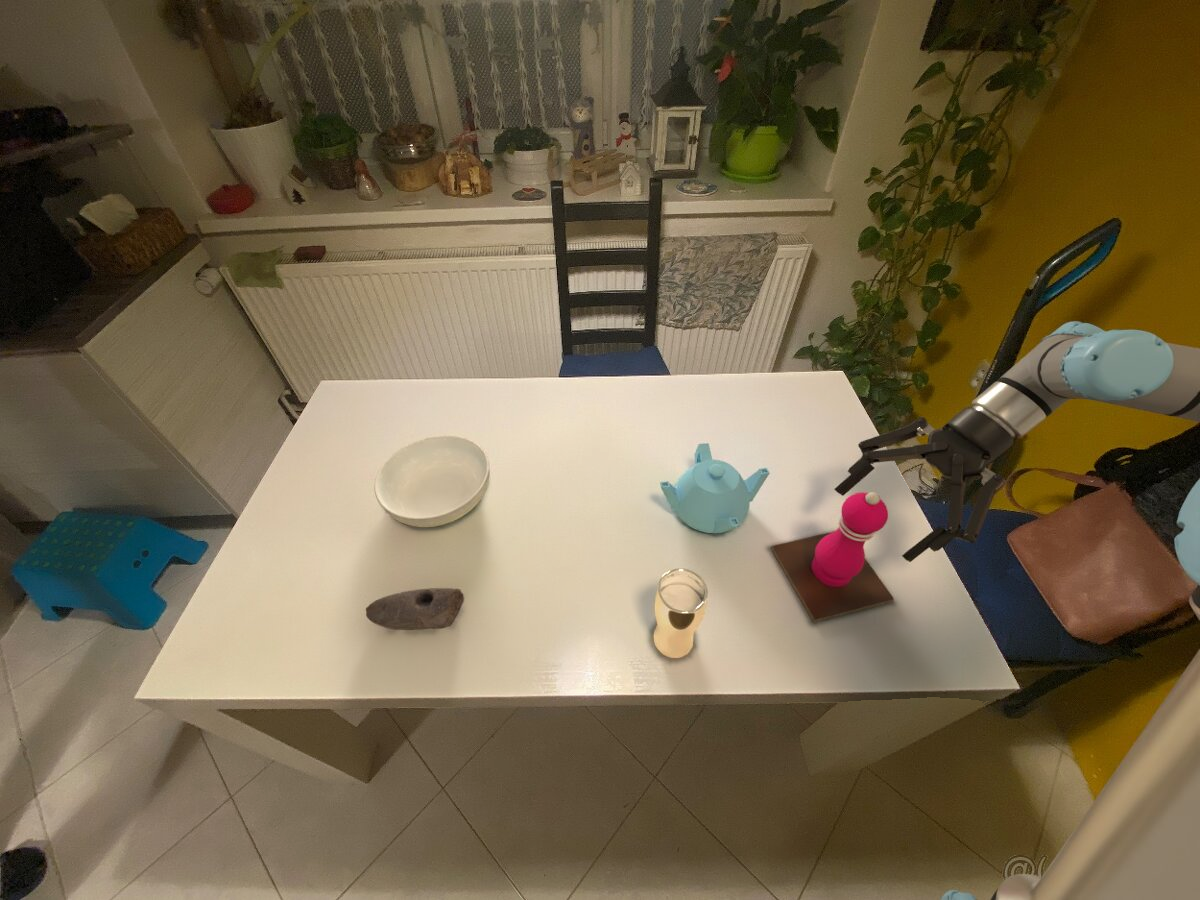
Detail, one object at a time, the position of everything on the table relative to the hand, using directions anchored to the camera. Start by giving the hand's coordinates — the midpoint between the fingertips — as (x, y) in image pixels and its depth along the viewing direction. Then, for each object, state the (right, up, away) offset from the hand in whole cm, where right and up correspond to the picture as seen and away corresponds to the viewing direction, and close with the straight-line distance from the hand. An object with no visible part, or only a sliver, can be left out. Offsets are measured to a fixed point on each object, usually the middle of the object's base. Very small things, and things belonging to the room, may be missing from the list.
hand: (870, 524), depth 77 cm
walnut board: (-3, -10, +8) cm, 13 cm away
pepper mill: (-3, -9, +7) cm, 12 cm away
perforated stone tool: (-70, -16, +4) cm, 72 cm away
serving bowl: (-72, +2, +21) cm, 75 cm away
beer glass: (-30, -18, +1) cm, 35 cm away
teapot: (-21, 0, +18) cm, 27 cm away
